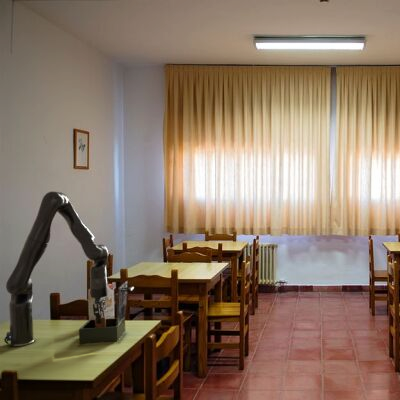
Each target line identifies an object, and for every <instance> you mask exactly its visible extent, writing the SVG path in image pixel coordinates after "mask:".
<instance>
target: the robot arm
mask: <svg viewBox="0 0 400 400" xmlns="http://www.w3.org/2000/svg"><path fill="white" fill-rule="evenodd" d="M57 213H58V214H59V215H60V216H61V217H62V218H63V219H64V220H65V222H66V223H67V226H68V229H69V230H70V232H71V234H72V236H73V237H74V238H75V239H76V241H77V242H78V243H79V244H80V246H81V248H82V251H83V254H84V255H85V256H86V258H88V260H90V261H93V263H92V265H91V266H90V269H89V274H90V275H89V277H90V280H89V281H90V282H89V287H90V288H89V289H90V292H91V297H92V298H95V301H94V304H93V311H94V316H96V323H97V324H100V323H101V311H102V312H103V316H104V312H105V310H106V298H104V297H106V296H107V295H108V288H107V284H108V277H107V264H108V259H109V251H108V247H107V246H106V245H104V244H101V243H100V244H96V243H95V241H94V240H95V236H94V234H93V233H92V231H91V230H90V229H89V228H88V226H87V225H86V224H85V223H84V222H83V220H82V219H81V217H80V216H79V214H78V213H77V212H76V210H75V208H74V206H73V204H72V202H71V200H70V199H69V197H68V196H67V195H66V194H65V193H63V192H60V191H49V192H47V193H45V194H44V195H43V197H42V199H41V202H40V206H39V209H38V212H37V215H36V217H35V220H34V222H33V224H32V226H31V228H30V231H29V234H28V235H27V237H26V240H25V242H24V243H23V247H22V249H21V252H20V254H19V257H18V259H17V263H16V265H15V266H14V269H13V270H12V272H11V274H10V275H9V276H8V279H7V281H6V283H5V288H6V292H7V293H8V294H10V300H9V304H8V311H9V331H7V332H6V335H5V337H4V339H3V340H4V343H5V344H6V345H9V343H10V347H11V348H12V347H24V346H27V345H30V344H33V343H34V342H35V337H34V321H33V320H34V319H33V299H34V297H33V296H34V291H33V290H34V289H33V279H32V277H31V276H32V273H33V270H34V269H35V267H36V266H37V264H38V263H39V262H40V260H41V258H42V257H43V256H44V254H45V252H46V250H47V248H48V245H49V243H50V240H51V235H52V224H53V220H54V218H55V216H56V214H57ZM97 311H98V313H97Z"/></svg>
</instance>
